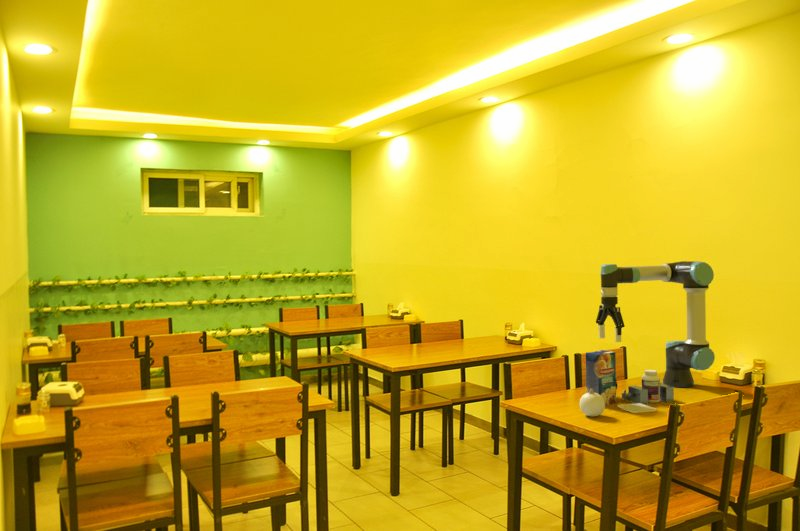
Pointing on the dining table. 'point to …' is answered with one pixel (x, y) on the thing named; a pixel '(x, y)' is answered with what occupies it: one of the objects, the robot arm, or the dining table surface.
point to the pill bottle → (651, 385)
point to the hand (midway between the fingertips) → (610, 340)
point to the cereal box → (601, 374)
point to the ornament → (592, 404)
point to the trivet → (636, 408)
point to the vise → (641, 394)
